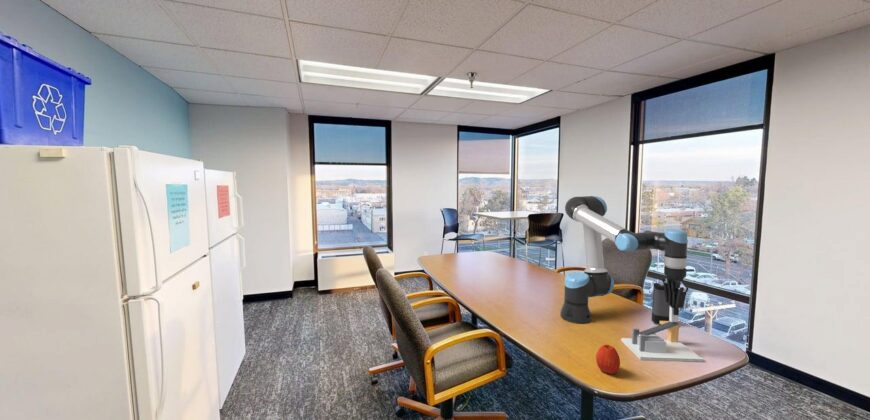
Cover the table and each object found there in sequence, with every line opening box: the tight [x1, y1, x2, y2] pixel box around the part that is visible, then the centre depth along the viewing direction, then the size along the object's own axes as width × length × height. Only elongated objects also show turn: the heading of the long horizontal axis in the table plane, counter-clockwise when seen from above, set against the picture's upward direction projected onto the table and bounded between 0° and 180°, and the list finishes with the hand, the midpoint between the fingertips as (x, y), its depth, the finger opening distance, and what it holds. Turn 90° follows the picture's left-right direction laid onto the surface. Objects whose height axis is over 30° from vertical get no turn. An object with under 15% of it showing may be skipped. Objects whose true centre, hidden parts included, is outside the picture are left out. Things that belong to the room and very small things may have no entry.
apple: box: [595, 344, 621, 375], centre depth 124 cm, size 8×8×11 cm
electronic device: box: [651, 282, 669, 326], centre depth 165 cm, size 9×6×20 cm, turn 71°
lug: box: [660, 321, 680, 342], centre depth 145 cm, size 6×3×8 cm, turn 86°
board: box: [620, 327, 704, 363], centre depth 139 cm, size 24×16×8 cm, turn 86°
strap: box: [635, 321, 680, 337], centre depth 138 cm, size 17×4×1 cm, turn 85°
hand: (673, 321), depth 137 cm, fingers closed
